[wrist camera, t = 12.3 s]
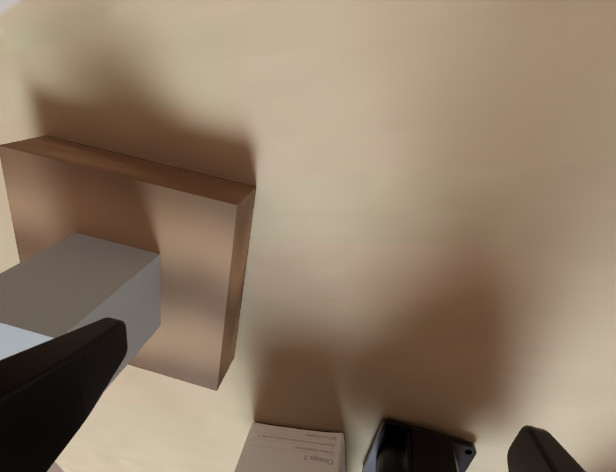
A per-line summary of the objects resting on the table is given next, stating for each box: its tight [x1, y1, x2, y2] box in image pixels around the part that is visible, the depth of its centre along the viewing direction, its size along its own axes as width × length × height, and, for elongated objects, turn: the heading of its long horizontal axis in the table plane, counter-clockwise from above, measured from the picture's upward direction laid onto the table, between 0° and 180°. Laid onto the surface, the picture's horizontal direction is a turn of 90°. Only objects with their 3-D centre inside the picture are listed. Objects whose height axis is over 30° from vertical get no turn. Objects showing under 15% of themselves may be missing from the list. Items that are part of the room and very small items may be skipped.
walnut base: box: [0, 136, 256, 391], centre depth 23 cm, size 13×13×3 cm
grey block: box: [0, 233, 161, 391], centre depth 18 cm, size 5×5×7 cm
